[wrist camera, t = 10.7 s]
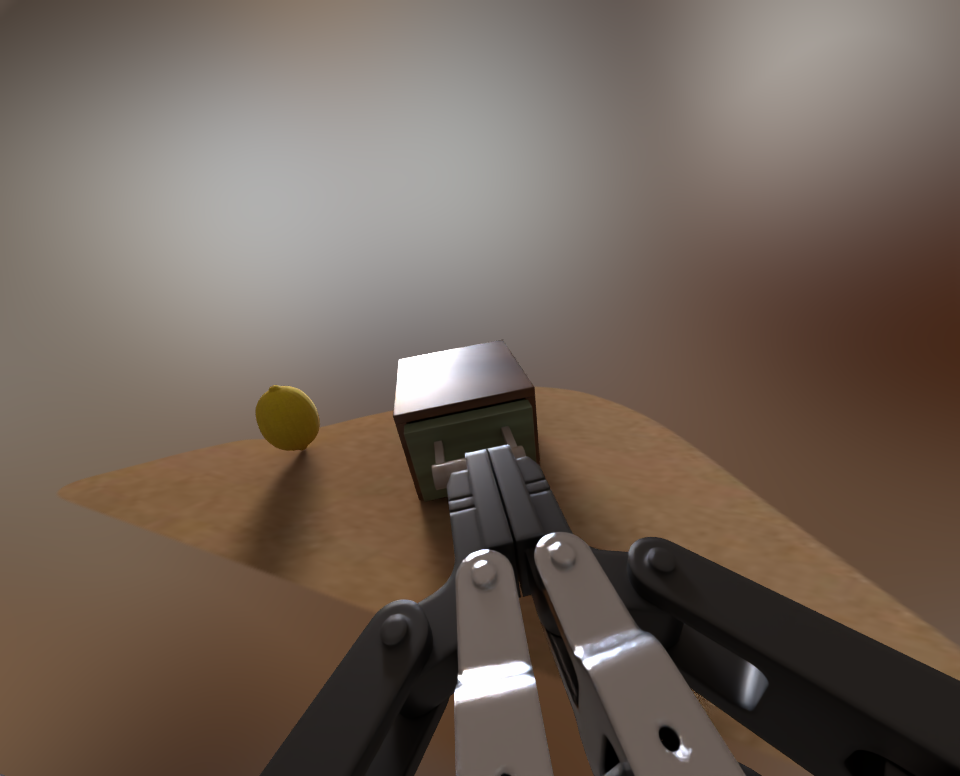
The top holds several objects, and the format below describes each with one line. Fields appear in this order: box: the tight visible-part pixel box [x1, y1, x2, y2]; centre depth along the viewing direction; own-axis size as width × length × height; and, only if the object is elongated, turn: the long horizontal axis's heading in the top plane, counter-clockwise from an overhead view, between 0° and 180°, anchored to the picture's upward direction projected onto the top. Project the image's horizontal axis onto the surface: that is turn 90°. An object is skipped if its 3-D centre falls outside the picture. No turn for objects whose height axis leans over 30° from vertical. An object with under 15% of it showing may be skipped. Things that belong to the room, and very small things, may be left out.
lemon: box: [256, 385, 320, 451], centre depth 36 cm, size 6×6×8 cm
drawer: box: [404, 399, 536, 502], centre depth 29 cm, size 14×9×7 cm
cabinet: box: [393, 340, 540, 500], centre depth 32 cm, size 11×11×9 cm
